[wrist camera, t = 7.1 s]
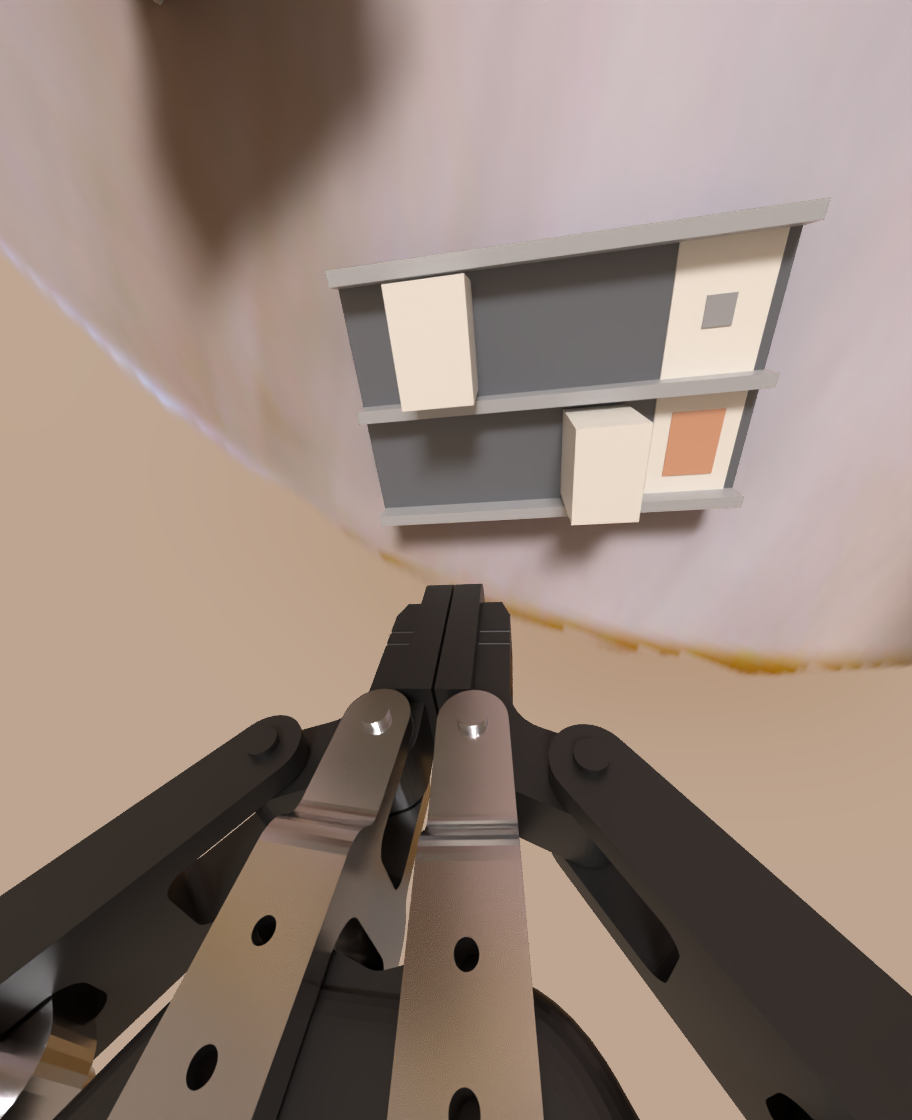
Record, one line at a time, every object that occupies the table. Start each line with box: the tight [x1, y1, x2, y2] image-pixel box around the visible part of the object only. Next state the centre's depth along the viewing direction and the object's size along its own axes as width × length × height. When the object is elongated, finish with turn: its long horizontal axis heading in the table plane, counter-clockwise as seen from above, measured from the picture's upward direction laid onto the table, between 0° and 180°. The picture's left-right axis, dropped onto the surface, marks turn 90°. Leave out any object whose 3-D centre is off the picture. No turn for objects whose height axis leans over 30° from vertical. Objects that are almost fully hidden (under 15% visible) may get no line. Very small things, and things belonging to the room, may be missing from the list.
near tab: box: [381, 273, 478, 412], centre depth 17 cm, size 3×4×4 cm
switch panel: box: [325, 197, 831, 526], centre depth 20 cm, size 19×12×3 cm, turn 96°
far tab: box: [560, 404, 653, 525], centre depth 19 cm, size 3×4×4 cm
